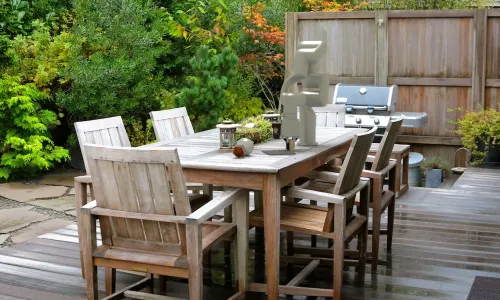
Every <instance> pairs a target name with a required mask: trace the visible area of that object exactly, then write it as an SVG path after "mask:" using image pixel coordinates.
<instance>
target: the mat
mask: <svg viewBox="0 0 500 300" xmlns="http://www.w3.org/2000/svg"><path fill="white" fill-rule="evenodd" d="M261 152H262V153H264V154H265V155H268V156H285V155H286V156H288V155H289V156H291V155H296V153H295V152H294V151H288V150H286V149H267V150H264V149H263V150H261Z"/></svg>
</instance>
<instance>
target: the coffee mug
mask: <svg viewBox="0 0 500 300" xmlns="http://www.w3.org/2000/svg"><path fill="white" fill-rule="evenodd" d="M270 124H272V125H271V129H272V128H273V134H272V139H273V138H274V140H281V139H280V135H281V124H282V121H274V122H271V123H270Z"/></svg>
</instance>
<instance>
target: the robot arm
mask: <svg viewBox="0 0 500 300" xmlns="http://www.w3.org/2000/svg"><path fill="white" fill-rule="evenodd" d="M296 48H297V50H296V51H295V52H294V57H293V65H292V71H291V75H290V76H289V77H287V78H286V79H285V81H284V82H283V84H282V86H281V90H280V98H279V99H280V104H281V105H282V106H283V113H282V114H280V117H281V118H282V119H281V122H282V124H281V135H280V139H279V140H282V141H284V142H285V150H286V149H287V150H289V139H290V138H291V139H292V140H294V149H295V147H296V146H295V145H297V146H304V147H311V146H312V147H313V146H314V147H315V146H318V145H319V142H317V139H316V138H317V137H316V135H317V133H316V132H317V130H316V129H317V122H316V119H317V116H316V112H315V110H314V109H313V108H325V107H327V106H328V103H329V93H330V76H329V74H328V73H327V72H325V71H318V66H319V65H318V64H319V63H320V62H321V61H322V59H324V57H325V55H326V54H327V51H328V45H327V42H325V40H301V41H300V42H298V43H297V47H296ZM299 82H301V84H302V87H303V88H305V89H319V90H302V91H300V92H289V90H290V88H291V87H292V86H293V85H295V84H297V83H299ZM298 108H299V109H298ZM298 110H299V112H298ZM298 114H299V118H298ZM297 140H298V141H297Z"/></svg>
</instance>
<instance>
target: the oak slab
mask: <svg viewBox="0 0 500 300" xmlns="http://www.w3.org/2000/svg"><path fill="white" fill-rule="evenodd" d="M285 150H287V149H286V148H285ZM288 151H291V152H294V151H295V148H294V140H292V138H289V150H288Z"/></svg>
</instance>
